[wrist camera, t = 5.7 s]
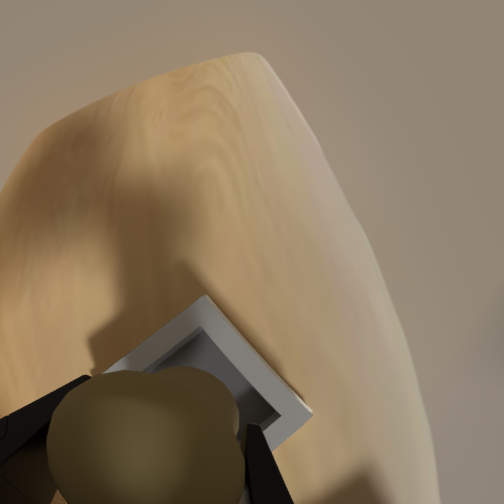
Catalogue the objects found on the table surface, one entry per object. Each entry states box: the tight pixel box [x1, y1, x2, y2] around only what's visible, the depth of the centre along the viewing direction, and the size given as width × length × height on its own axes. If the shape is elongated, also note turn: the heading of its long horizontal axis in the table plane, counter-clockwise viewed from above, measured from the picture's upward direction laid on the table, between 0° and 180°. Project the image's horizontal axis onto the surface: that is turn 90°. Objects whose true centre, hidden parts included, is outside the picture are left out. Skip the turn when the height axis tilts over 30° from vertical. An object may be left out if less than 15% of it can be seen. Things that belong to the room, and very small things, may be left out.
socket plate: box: [102, 294, 313, 452], centre depth 18 cm, size 12×12×4 cm
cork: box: [47, 366, 245, 504], centre depth 9 cm, size 6×6×11 cm
